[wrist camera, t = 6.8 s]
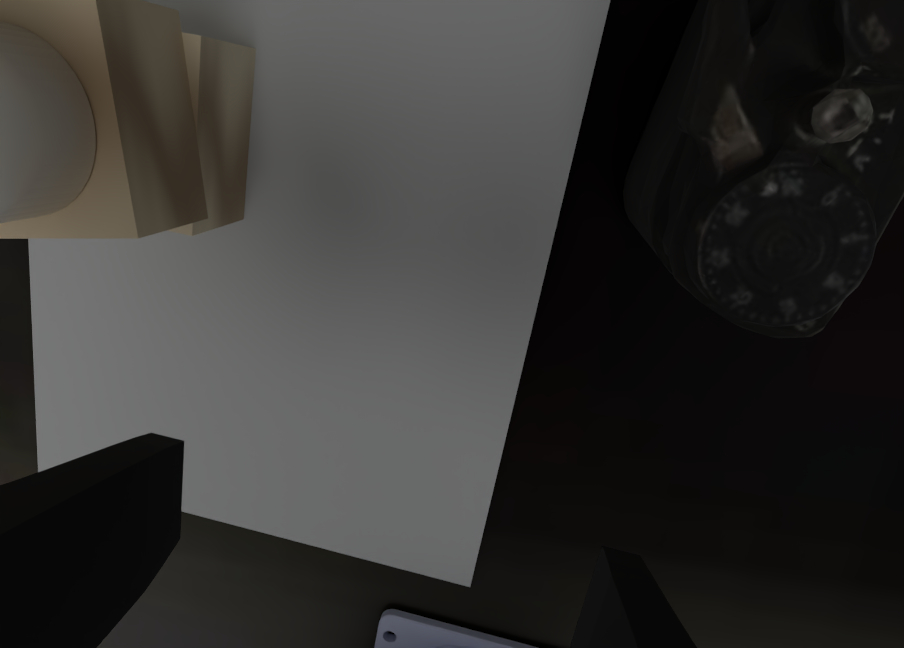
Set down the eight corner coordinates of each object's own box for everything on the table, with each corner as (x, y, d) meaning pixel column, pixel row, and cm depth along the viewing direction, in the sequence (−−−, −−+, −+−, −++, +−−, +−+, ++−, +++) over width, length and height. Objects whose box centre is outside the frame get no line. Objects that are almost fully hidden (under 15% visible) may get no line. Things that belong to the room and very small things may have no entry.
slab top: (207, 218, 17) (138, 238, 14) (41, 219, 18) (-58, 238, 15) (178, 10, 15) (93, -14, 12) (-4, 21, 16) (-123, 1, 13)
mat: (471, 579, 23) (470, 587, 23) (46, 468, 25) (38, 473, 24) (616, -28, 17) (617, -31, 16) (23, -129, 18) (12, -134, 18)
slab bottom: (243, 219, 20) (192, 235, 17) (96, 187, 20) (22, 198, 17) (256, 48, 18) (201, 35, 15) (95, 18, 19) (13, 0, 16)
